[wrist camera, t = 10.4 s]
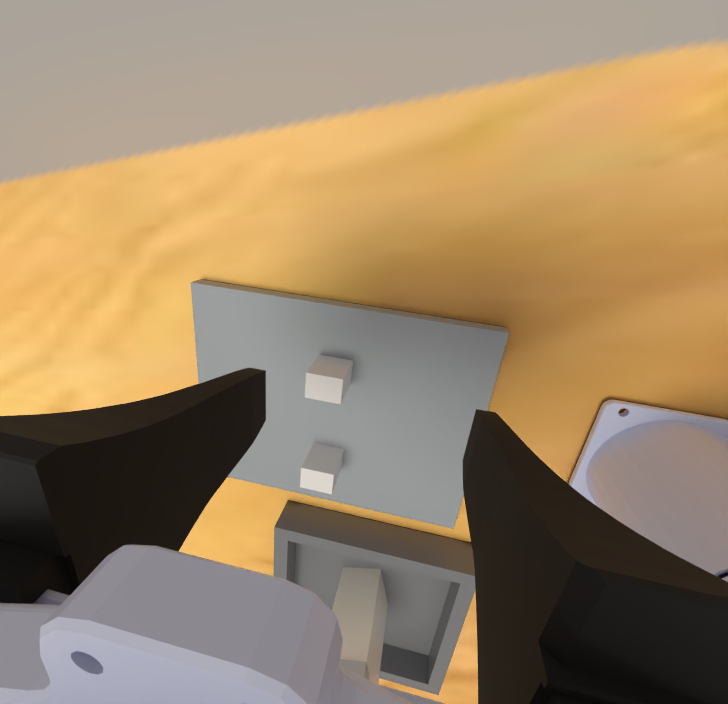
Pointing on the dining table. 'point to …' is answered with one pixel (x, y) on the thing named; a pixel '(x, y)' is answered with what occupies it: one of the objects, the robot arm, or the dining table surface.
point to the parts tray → (385, 583)
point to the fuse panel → (353, 395)
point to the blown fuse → (361, 620)
